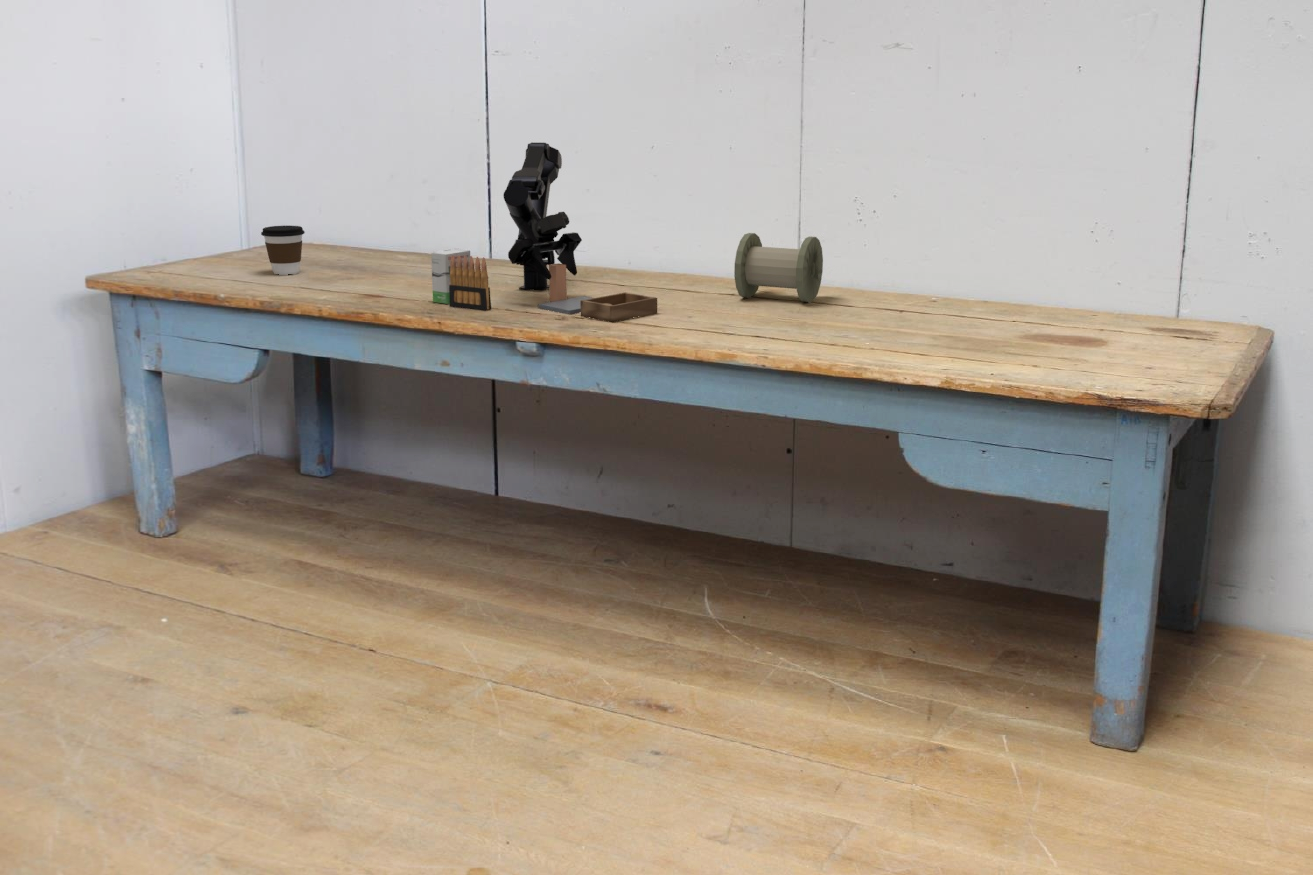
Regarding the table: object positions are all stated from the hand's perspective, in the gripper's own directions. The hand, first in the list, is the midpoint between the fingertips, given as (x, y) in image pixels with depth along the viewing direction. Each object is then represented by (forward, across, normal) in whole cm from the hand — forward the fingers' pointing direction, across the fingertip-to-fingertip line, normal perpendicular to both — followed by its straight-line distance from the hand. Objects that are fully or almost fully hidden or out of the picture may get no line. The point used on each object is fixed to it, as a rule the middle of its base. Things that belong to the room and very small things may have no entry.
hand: (563, 276), depth 297 cm
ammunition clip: (-4, -18, +14) cm, 23 cm away
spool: (+27, +39, -18) cm, 51 cm away
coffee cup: (-56, -20, +66) cm, 89 cm away
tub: (+18, 0, -8) cm, 19 cm away
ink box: (-11, -15, +21) cm, 28 cm away
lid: (+7, 0, +2) cm, 7 cm away
